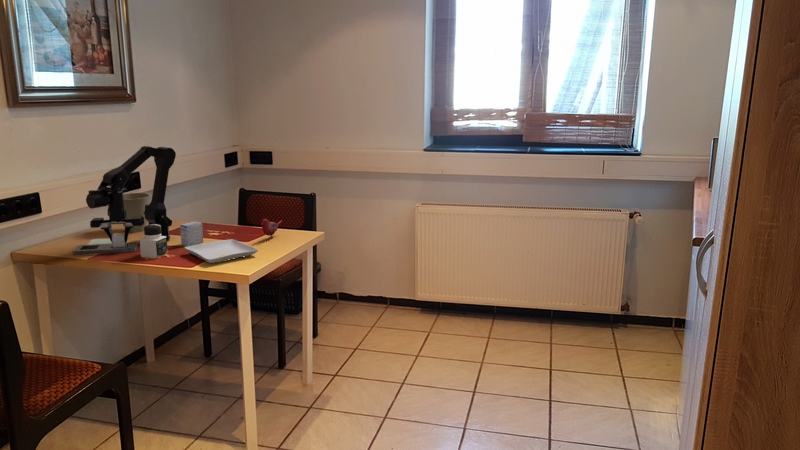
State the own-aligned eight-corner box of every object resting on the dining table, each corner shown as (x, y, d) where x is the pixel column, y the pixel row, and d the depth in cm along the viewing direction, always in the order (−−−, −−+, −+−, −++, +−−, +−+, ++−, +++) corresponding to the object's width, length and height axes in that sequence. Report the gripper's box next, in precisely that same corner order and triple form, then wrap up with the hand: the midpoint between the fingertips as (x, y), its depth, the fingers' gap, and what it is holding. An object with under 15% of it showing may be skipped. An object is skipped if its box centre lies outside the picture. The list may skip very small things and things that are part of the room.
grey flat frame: (138, 245, 241) (137, 242, 241) (134, 251, 232) (134, 248, 232) (78, 248, 235) (78, 245, 235) (72, 255, 227) (72, 251, 226)
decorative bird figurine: (258, 242, 250) (257, 219, 247) (280, 233, 266) (279, 211, 264) (264, 243, 249) (263, 220, 247) (285, 233, 265) (285, 212, 263)
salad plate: (259, 257, 230) (259, 248, 230) (209, 267, 216) (208, 258, 215) (232, 246, 245) (232, 238, 244) (183, 255, 231) (182, 246, 230)
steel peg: (127, 247, 238) (125, 232, 236) (125, 250, 234) (123, 235, 232) (115, 247, 236) (113, 233, 235) (113, 250, 232) (111, 236, 231)
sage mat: (126, 239, 251) (126, 237, 251) (122, 245, 242) (121, 243, 241) (92, 240, 247) (92, 239, 247) (87, 246, 238) (86, 245, 238)
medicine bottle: (157, 258, 224) (155, 228, 222) (140, 257, 226) (138, 226, 223) (168, 253, 231) (166, 223, 228) (151, 252, 233) (149, 222, 230)
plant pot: (116, 228, 268) (112, 194, 265) (151, 225, 275) (148, 191, 271) (118, 236, 255) (114, 199, 252) (154, 232, 262) (152, 197, 259)
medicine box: (196, 240, 250) (195, 221, 248) (203, 242, 248) (202, 222, 246) (181, 245, 244) (179, 224, 242) (188, 246, 242) (187, 226, 240)
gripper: (144, 199, 241) (147, 236, 244) (94, 201, 236) (98, 239, 240) (140, 205, 230) (143, 243, 234) (87, 206, 225) (92, 246, 229)
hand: (119, 242), depth 234 cm, fingers closed on steel peg, 4 cm apart
